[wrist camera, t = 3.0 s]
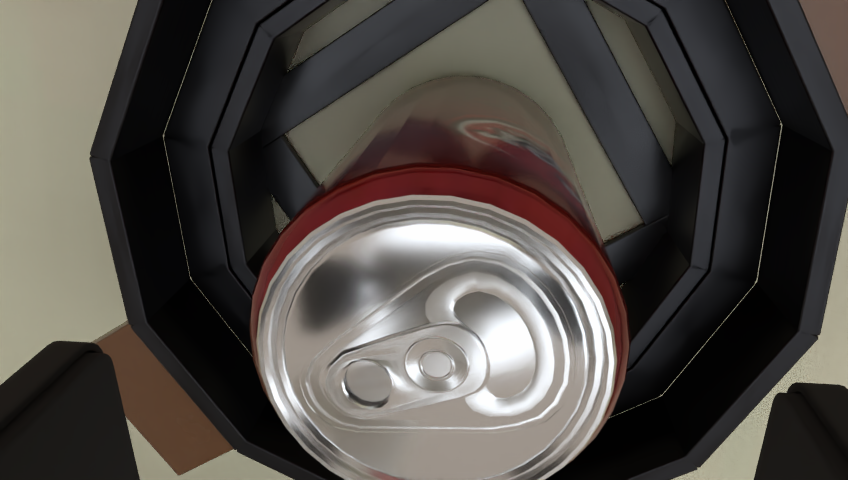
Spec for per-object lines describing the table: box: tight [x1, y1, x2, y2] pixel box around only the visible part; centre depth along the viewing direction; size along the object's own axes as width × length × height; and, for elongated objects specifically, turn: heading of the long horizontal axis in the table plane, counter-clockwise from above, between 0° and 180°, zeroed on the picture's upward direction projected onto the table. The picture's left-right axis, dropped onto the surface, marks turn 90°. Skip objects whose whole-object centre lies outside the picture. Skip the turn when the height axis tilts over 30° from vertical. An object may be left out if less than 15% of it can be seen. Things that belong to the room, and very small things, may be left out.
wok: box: [90, 0, 848, 480], centre depth 20 cm, size 24×19×6 cm
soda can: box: [249, 76, 631, 480], centre depth 17 cm, size 7×7×12 cm
